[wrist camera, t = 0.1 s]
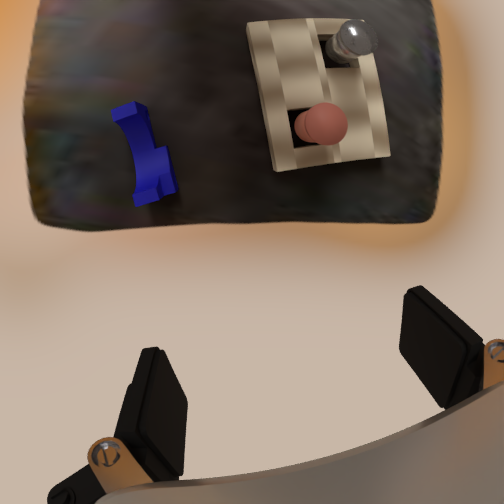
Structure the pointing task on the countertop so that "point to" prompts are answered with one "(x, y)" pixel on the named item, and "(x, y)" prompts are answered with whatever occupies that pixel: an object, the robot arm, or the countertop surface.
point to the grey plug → (351, 42)
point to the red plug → (322, 124)
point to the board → (314, 92)
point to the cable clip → (146, 155)
